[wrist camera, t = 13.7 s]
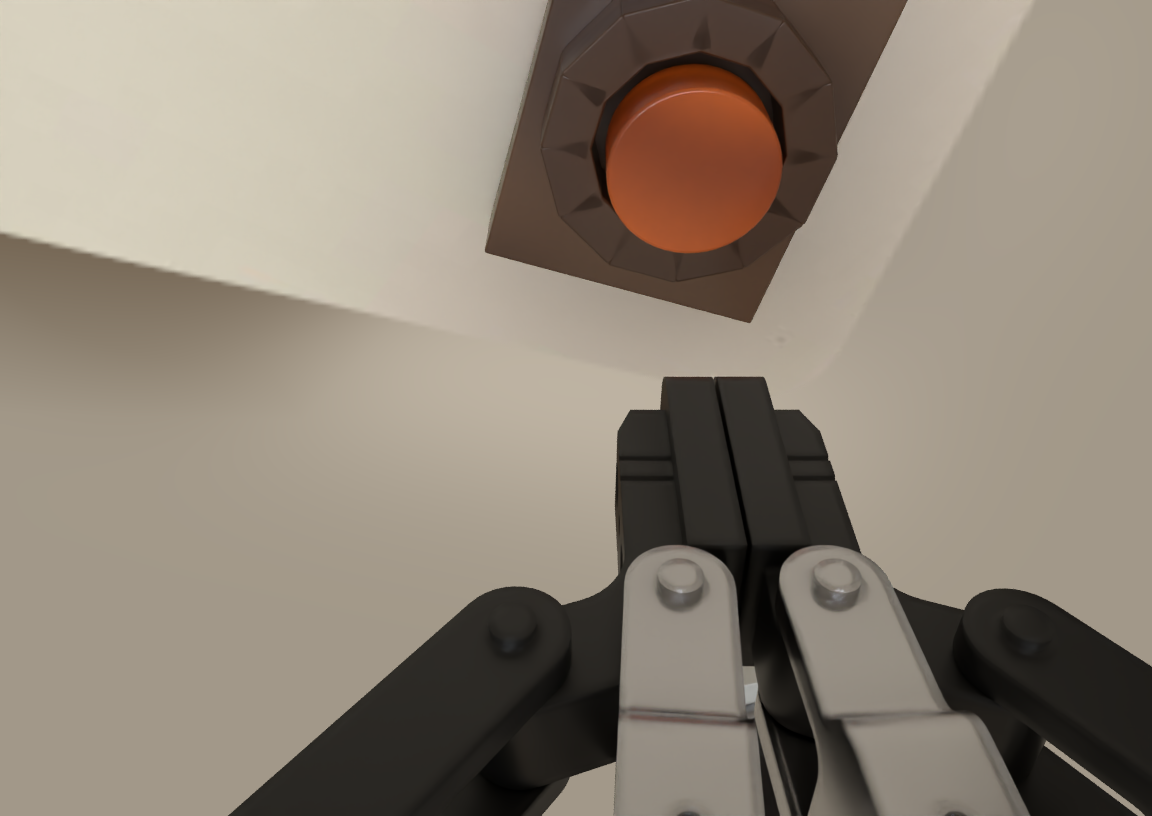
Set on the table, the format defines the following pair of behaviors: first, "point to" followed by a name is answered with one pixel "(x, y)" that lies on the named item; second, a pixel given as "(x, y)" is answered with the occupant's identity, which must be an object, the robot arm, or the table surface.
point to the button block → (622, 60)
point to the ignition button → (692, 159)
